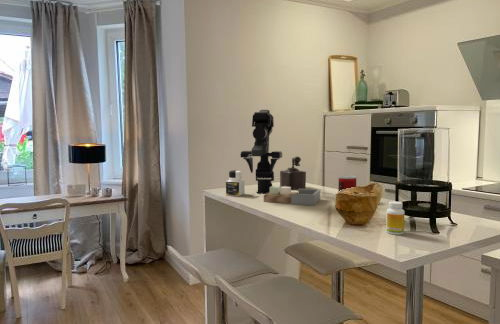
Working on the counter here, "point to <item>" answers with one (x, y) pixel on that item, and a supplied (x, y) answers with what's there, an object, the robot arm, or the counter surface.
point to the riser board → (278, 197)
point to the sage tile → (274, 189)
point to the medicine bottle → (235, 184)
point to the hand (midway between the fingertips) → (261, 173)
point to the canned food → (346, 182)
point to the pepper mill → (293, 176)
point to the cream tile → (285, 190)
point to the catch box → (306, 197)
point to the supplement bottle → (395, 218)
